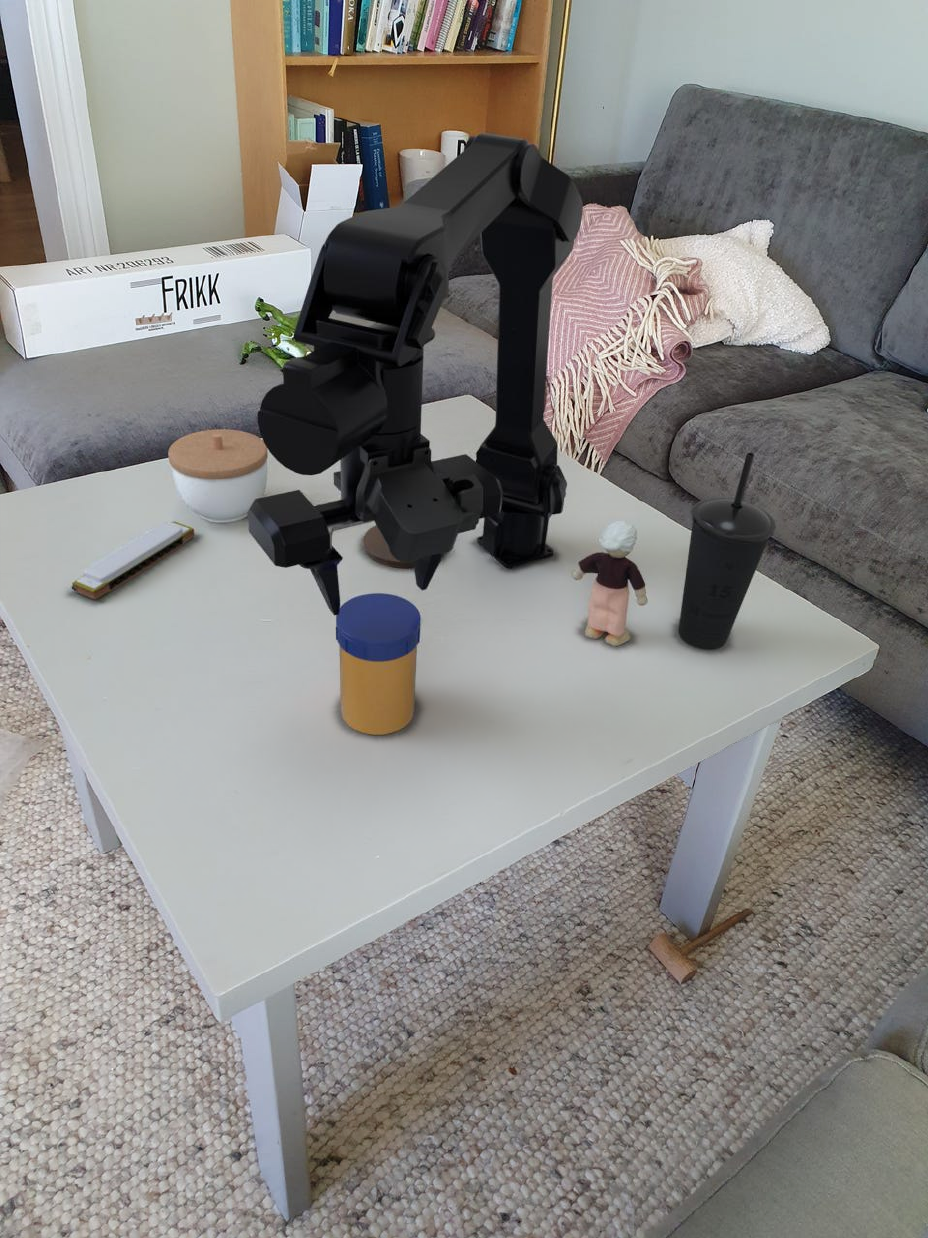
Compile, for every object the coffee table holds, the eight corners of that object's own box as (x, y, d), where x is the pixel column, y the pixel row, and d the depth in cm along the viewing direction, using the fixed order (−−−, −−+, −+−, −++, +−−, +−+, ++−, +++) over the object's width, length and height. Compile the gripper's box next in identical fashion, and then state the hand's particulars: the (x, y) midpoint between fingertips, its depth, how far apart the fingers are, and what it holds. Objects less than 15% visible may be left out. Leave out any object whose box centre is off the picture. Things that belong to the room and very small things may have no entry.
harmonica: (173, 530, 102) (171, 514, 101) (195, 537, 101) (193, 522, 100) (72, 592, 91) (68, 575, 90) (95, 602, 90) (91, 585, 89)
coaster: (419, 519, 107) (419, 513, 107) (458, 556, 101) (459, 550, 101) (349, 536, 103) (349, 530, 103) (386, 575, 97) (386, 569, 97)
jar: (393, 678, 84) (394, 592, 78) (427, 720, 79) (432, 632, 74) (328, 699, 81) (326, 611, 75) (360, 744, 77) (360, 654, 71)
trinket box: (250, 540, 101) (243, 463, 96) (159, 525, 103) (148, 448, 97) (284, 495, 110) (280, 422, 104) (201, 482, 111) (192, 409, 106)
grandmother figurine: (642, 631, 92) (666, 522, 85) (635, 653, 89) (660, 541, 82) (568, 613, 94) (585, 504, 86) (559, 633, 91) (576, 523, 83)
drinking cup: (655, 613, 95) (696, 434, 83) (726, 613, 96) (776, 436, 84) (675, 659, 89) (722, 473, 77) (751, 658, 89) (808, 475, 78)
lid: (395, 603, 79) (396, 585, 78) (435, 646, 75) (436, 628, 73) (322, 624, 76) (322, 605, 75) (359, 671, 71) (359, 652, 70)
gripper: (302, 494, 54) (311, 693, 64) (555, 440, 63) (531, 622, 72) (236, 422, 62) (253, 609, 71) (470, 382, 70) (458, 554, 80)
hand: (378, 599), depth 73 cm, fingers open, 7 cm apart
